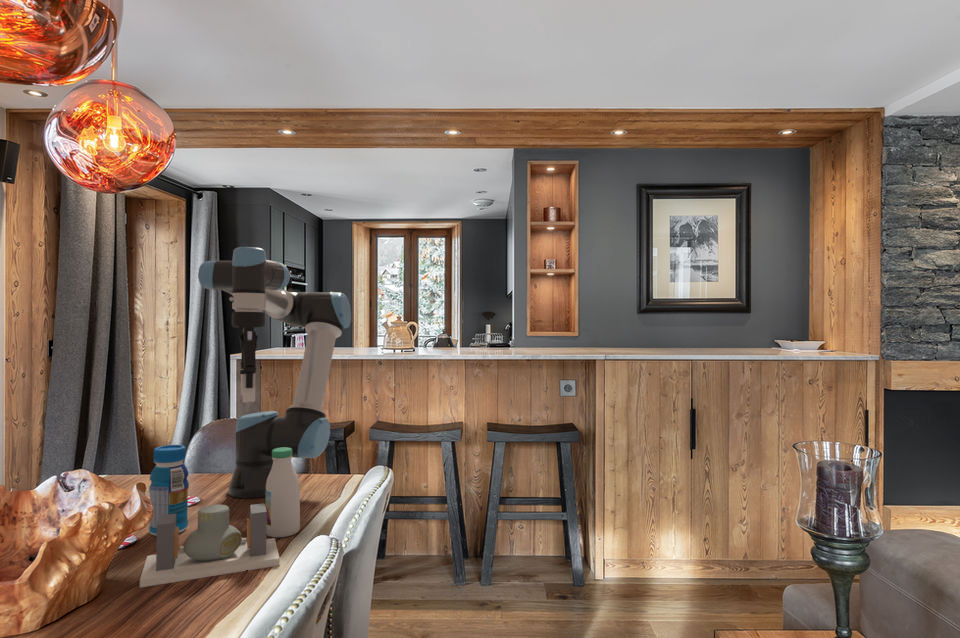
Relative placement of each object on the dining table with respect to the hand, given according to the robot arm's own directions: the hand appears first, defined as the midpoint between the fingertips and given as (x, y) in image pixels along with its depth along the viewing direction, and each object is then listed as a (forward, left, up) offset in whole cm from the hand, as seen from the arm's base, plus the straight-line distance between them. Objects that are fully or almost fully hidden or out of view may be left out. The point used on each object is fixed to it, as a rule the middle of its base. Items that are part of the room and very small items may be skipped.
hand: (247, 398), depth 138 cm
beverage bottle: (-6, -17, -32) cm, 37 cm away
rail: (+19, -7, -32) cm, 38 cm away
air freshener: (+19, -7, -30) cm, 36 cm away
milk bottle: (+6, +8, -32) cm, 33 cm away
